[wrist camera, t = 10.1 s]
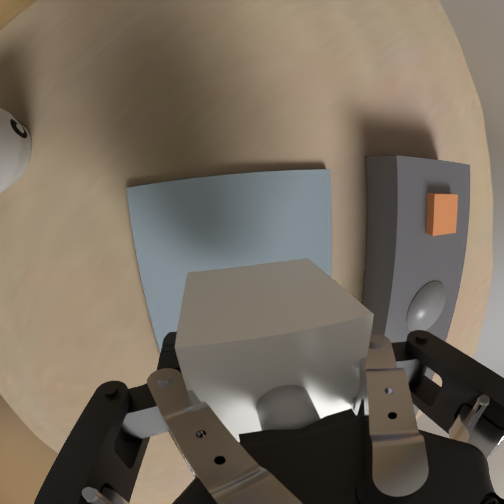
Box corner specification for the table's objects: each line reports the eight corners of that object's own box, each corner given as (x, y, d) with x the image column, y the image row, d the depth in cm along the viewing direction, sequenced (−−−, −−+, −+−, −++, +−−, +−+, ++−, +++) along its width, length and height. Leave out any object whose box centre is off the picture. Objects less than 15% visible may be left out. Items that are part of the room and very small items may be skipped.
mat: (128, 187, 17) (126, 187, 16) (326, 169, 19) (329, 169, 18) (164, 359, 21) (163, 363, 20) (325, 336, 23) (327, 339, 22)
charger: (189, 260, 14) (169, 387, 5) (296, 248, 15) (403, 340, 6) (205, 349, 16) (213, 488, 7) (297, 336, 17) (364, 455, 8)
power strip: (365, 156, 19) (404, 155, 14) (439, 163, 20) (476, 165, 16) (340, 424, 27) (355, 451, 23) (398, 402, 29) (416, 424, 24)
